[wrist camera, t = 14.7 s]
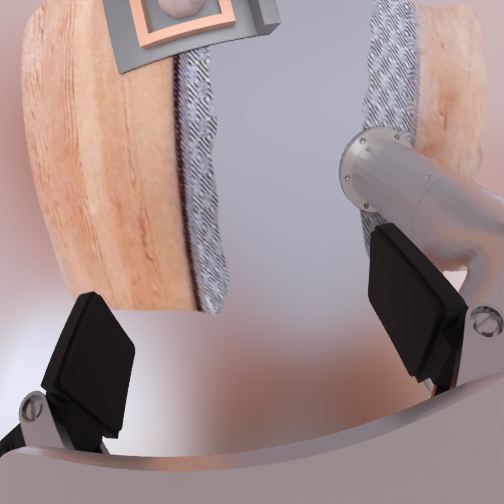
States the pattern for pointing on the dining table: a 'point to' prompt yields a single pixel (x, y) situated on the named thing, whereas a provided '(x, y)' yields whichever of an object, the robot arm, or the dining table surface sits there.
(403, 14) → the dining table surface
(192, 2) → the salt shaker
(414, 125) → the dining table surface
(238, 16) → the gray walled base stand
